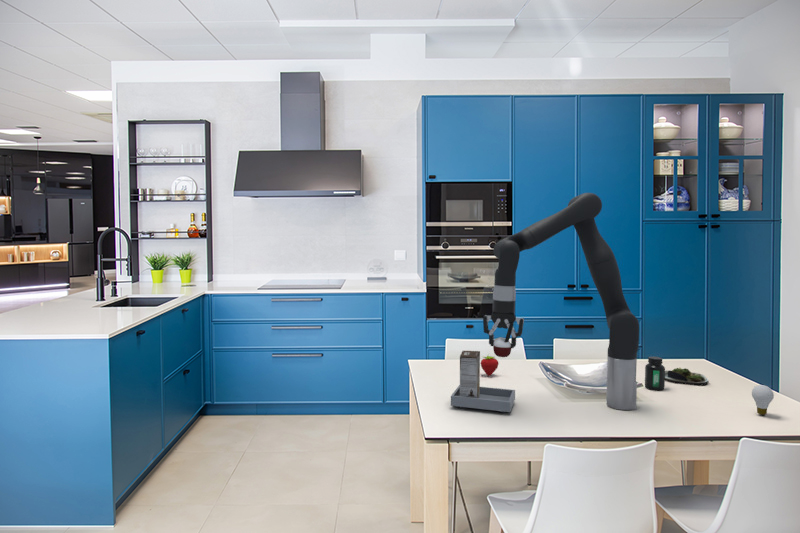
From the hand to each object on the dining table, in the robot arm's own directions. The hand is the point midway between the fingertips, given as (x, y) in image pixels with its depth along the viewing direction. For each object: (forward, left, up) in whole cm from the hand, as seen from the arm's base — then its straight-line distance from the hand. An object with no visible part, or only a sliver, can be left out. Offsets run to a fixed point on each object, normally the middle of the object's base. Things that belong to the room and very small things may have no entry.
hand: (502, 346), depth 175 cm
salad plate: (-66, -57, -21) cm, 90 cm away
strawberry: (+10, -36, -21) cm, 43 cm away
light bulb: (-82, -18, -21) cm, 87 cm away
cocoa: (0, 0, -3) cm, 3 cm away
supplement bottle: (-53, -40, -21) cm, 69 cm away
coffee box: (+11, +2, -19) cm, 22 cm away
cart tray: (+6, +2, -21) cm, 22 cm away
